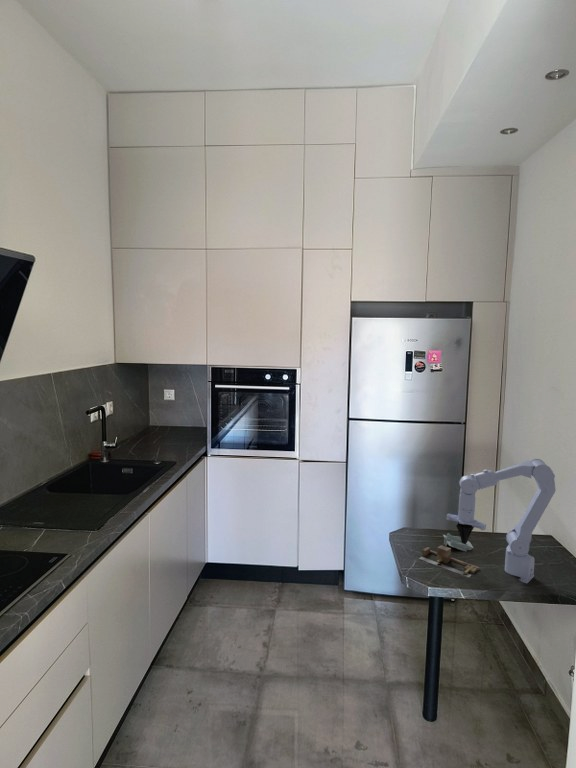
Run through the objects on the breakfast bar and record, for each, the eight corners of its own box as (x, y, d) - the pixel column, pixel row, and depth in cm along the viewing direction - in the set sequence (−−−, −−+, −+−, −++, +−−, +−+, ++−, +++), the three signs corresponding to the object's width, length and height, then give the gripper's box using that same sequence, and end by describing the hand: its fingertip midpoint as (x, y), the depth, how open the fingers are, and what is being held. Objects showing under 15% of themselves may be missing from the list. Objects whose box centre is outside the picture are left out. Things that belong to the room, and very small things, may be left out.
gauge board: (482, 573, 180) (482, 564, 179) (470, 582, 173) (471, 573, 172) (428, 554, 195) (428, 545, 195) (415, 561, 188) (415, 552, 188)
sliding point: (450, 560, 186) (450, 548, 186) (442, 566, 182) (443, 553, 181) (440, 557, 189) (441, 545, 189) (432, 562, 185) (433, 549, 184)
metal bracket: (449, 542, 194) (441, 528, 208) (444, 555, 194) (436, 540, 209) (484, 554, 193) (473, 539, 208) (479, 567, 193) (468, 551, 208)
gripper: (443, 505, 184) (441, 539, 185) (481, 515, 174) (479, 552, 175) (451, 501, 189) (449, 534, 190) (489, 511, 179) (486, 546, 180)
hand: (464, 542), depth 183 cm, fingers closed
